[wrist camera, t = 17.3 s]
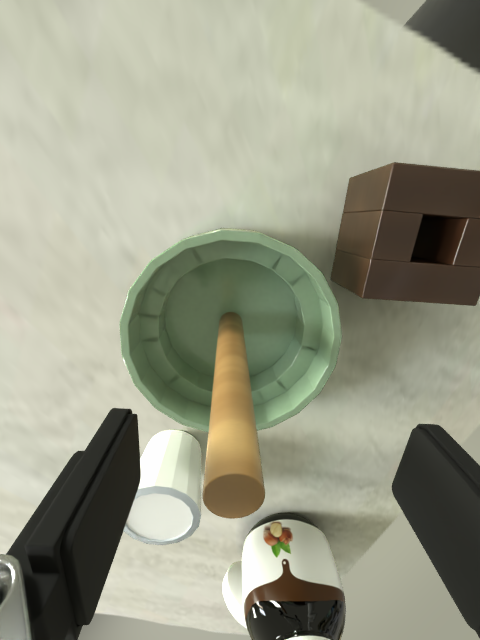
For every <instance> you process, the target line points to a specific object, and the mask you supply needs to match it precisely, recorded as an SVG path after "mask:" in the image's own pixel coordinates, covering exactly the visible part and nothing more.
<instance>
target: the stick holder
mask: <svg viewBox="0 0 480 640" xmlns="http://www.w3.org/2000/svg"><path fill="white" fill-rule="evenodd" d="M331 280H332V281H334V282H335V283H337V284H339V285H341V286H342V287H344V288H346V289H347V290H349V291H351V292H353V293H354V294H356V295H358V296H360V297H361V298H367V299H382V300H397V301H412V302H427V303H441V304H456V305H471V306H476V304H477V301H478V299H479V296H480V171H477V170H467V169H457V168H447V167H437V166H427V165H417V164H406V163H396V162H394V163H391V164H388V165H385V166H383V167H380V168H377V169H374V170H371V171H368V172H366V173H363V174H360V175H357V176H354V177H351V178H350V179H349V184H348V190H347V195H346V200H345V206H344V211H343V215H342V221H341V226H340V231H339V237H338V242H337V247H336V253H335V258H334V263H333V269H332V274H331Z"/></svg>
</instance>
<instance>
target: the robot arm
mask: <svg viewBox="0 0 480 640" xmlns="http://www.w3.org/2000/svg"><path fill="white" fill-rule="evenodd" d="M140 479H141V468H140V452H139V435H138V419H137V414H132V411H131V409H119V408H113V409H111V410H110V412H109V413H108V415H107V417H106V418H105V420H104V421H103V423H102V424H101V426H100V428H99V429H98V431H97V432H96V434H95V435H94V437H93V439H92V440H91V442H90V443H89V445H88V446H87V448H86V450H85V451H78V452H76V453H75V454H74V455H73V456H72V457H71V459H70V460H69V462H68V463H67V465H66V466H65V468H64V469H63V471H62V472H61V473H60V475H59V476H58V478H57V479H56V481H55V482H54V484H53V485H52V487H51V488H50V490H49V491H48V493H47V494H46V496H45V497H44V499H43V500H42V502H41V503H40V505H39V506H38V508H37V509H36V511H35V512H34V514H33V515H32V517H31V518H30V520H29V521H28V523H27V524H26V526H25V527H24V528H23V530H22V531H21V533H20V534H19V536H18V537H17V539H16V540H15V542H14V543H13V545H12V546H11V548H10V549H9V551H8V552H7V554H6V555H3V554H0V640H77V639H78V637H79V634H80V631H81V628H82V626H83V625H89V623H90V622H91V620H92V618H93V615H94V613H95V610H96V607H97V604H98V601H99V599H100V596H101V593H102V590H103V587H104V584H105V581H106V579H107V576H108V573H109V570H110V567H111V564H112V562H113V559H114V556H115V553H116V550H117V547H118V544H119V542H120V539H121V536H122V533H123V530H124V527H125V524H126V522H127V519H128V516H129V513H130V510H131V507H132V505H133V502H134V499H135V496H136V493H137V490H138V487H139V484H140ZM392 492H393V495H394V497H395V499H396V500H397V502H398V504H399V506H400V507H401V509H402V511H403V513H404V514H405V516H406V518H407V520H408V521H409V523H410V525H411V526H412V528H413V530H414V532H415V533H416V535H417V537H418V539H419V541H420V542H421V544H422V546H423V548H424V549H425V551H426V553H427V554H428V556H429V558H430V560H431V562H432V563H433V565H434V567H435V568H436V570H437V572H438V574H439V576H440V577H441V579H442V581H443V582H444V584H445V586H446V588H447V590H448V591H449V593H450V595H451V597H452V598H453V600H454V602H455V604H456V605H457V607H458V609H459V611H460V612H461V614H462V616H463V617H464V619H465V621H466V622H467V624H468V625H469V626H470V627H471V628H472V629H474V630H475V631H476V632H477V634H478V636H479V638H480V466H479V465H478V463H476V461H474V459H473V458H471V456H470V455H469V454H467V452H466V451H465V450H464V449H463V448H462V447H461V446H460V445H459V444H458V443H457V442H456V441H455V440H454V439H453V438H452V437H451V436H450V435H449V434H448V433H447V432H446V431H445V430H444V429H443V428H442V427H441V426H439V425H434V424H419V425H417V427H416V428H414V429H413V430H412V432H411V435H410V437H409V440H408V443H407V445H406V448H405V451H404V454H403V456H402V459H401V462H400V464H399V467H398V470H397V472H396V475H395V478H394V481H393V483H392Z"/></svg>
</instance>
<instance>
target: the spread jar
mask: <svg viewBox="0 0 480 640" xmlns="http://www.w3.org/2000/svg"><path fill="white" fill-rule="evenodd" d="M222 590H223V596H224V599H225V602H226V605H227V607H228V609H229V610H230V612H231V614H232V615H233V616H234V618H235V619H236V620H237V621H238V622H239V623H240V624H241V625H242V626H244V627H245V628H246V629H247V630H248V632H249V635H250V637H251V639H252V640H341V637H342V633H343V629H344V625H345V614H346V606H345V596H344V592H343V587H342V583H341V579H340V576H339V572H338V569H337V566H336V563H335V559H334V556H333V553H332V550H331V548H330V545H329V543H328V541H327V539H326V537H325V535H324V534H323V532H322V531H321V530H320V529H319V528H318V527H317V526H316V525H315V524H313V523H312V522H311V521H309V520H307V519H305V518H303V517H301V516H298V515H295V514H291V513H278V514H273V515H270V516H268V517H266V518H264V519H262V520H261V521H259V522H258V523H257V524H256V525H254V526H253V528H252V529H251V530H250V532H249V533H248V535H247V538H246V540H245V543H244V546H243V552H242V561H237V562H235V563H233V564H232V565H231V566H230V567H229V569H228V571H227V573H226V575H225V577H224V580H223V586H222Z"/></svg>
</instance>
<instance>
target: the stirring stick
mask: <svg viewBox="0 0 480 640" xmlns="http://www.w3.org/2000/svg"><path fill="white" fill-rule="evenodd" d="M264 498H265V489H264V481H263V474H262V466H261V459H260V451H259V443H258V436H257V428H256V421H255V413H254V406H253V398H252V391H251V383H250V376H249V368H248V361H247V353H246V346H245V338H244V330H243V323H242V319H241V317H240V316H239V315H238V314H237V313H234V312H227V313H225V314H223V315H222V316H221V318H220V320H219V329H218V339H217V350H216V360H215V371H214V381H213V391H212V402H211V412H210V422H209V433H208V443H207V454H206V464H205V474H204V485H203V501H204V504H205V506H206V507H207V508H208V510H210V511H211V512H212V513H214V514H215V515H218V516H220V517H224V518H241V517H245V516H248V515H250V514H252V513H254V512H255V511H257V510H258V509H259V508H260V506H261V505H262V503H263V501H264Z"/></svg>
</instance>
